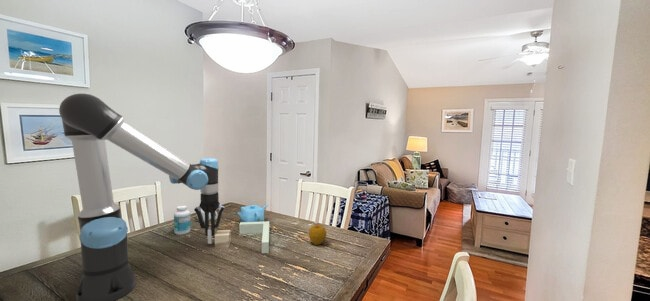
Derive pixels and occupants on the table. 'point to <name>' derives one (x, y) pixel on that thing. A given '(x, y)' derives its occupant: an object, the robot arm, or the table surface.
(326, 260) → the table surface
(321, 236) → the apple
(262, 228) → the fence
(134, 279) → the robot arm
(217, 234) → the maple block
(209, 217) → the mug
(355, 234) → the table surface
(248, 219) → the teapot
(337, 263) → the table surface
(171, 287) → the table surface
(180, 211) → the pill bottle
